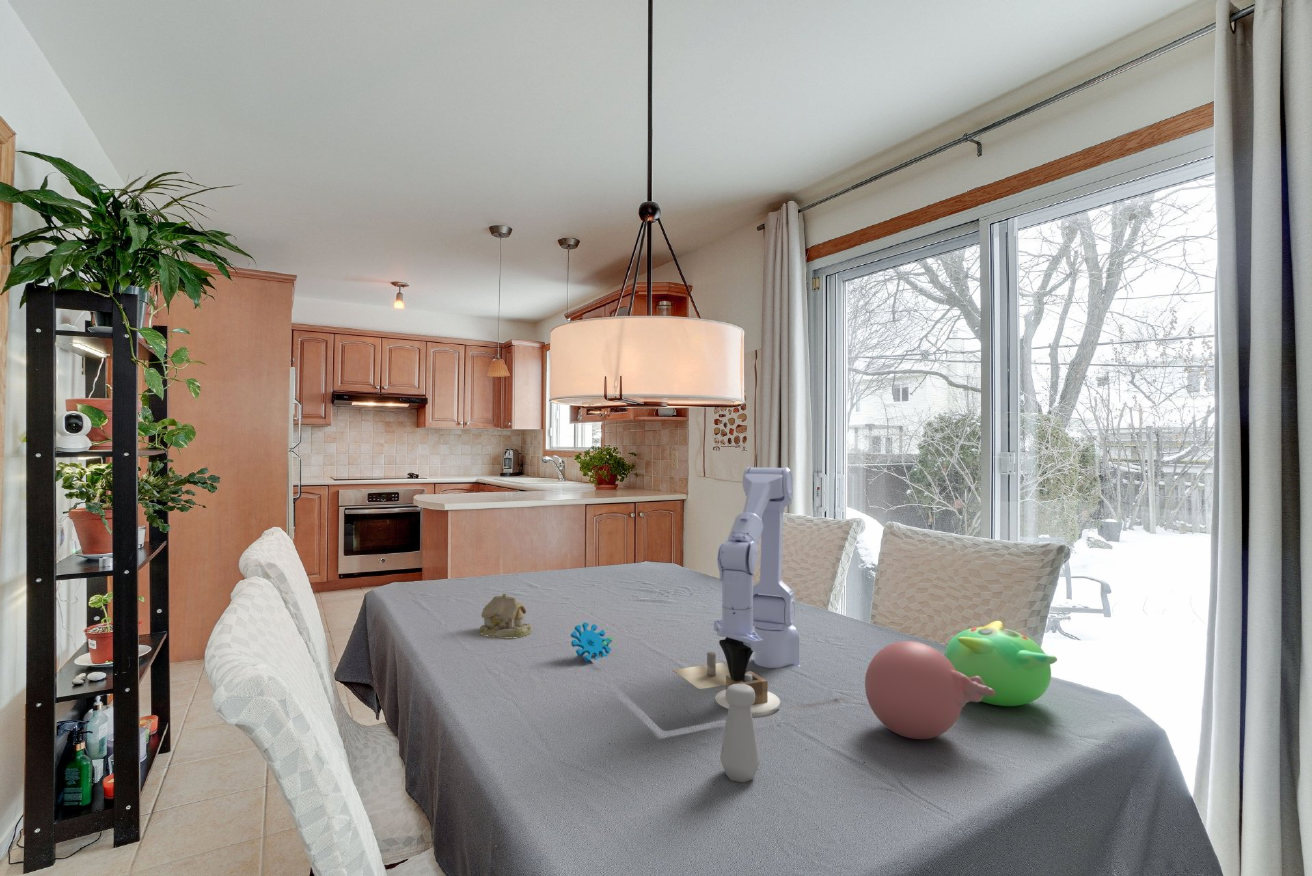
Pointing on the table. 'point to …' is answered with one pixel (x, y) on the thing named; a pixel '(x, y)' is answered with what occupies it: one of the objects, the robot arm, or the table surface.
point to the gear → (590, 642)
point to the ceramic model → (504, 618)
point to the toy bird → (1002, 663)
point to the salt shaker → (740, 735)
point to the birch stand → (706, 673)
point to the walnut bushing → (753, 686)
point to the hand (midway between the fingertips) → (737, 679)
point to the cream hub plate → (762, 708)
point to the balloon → (918, 690)
